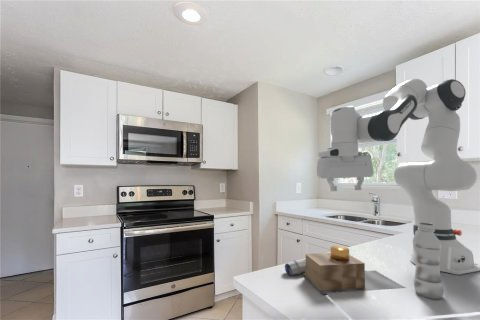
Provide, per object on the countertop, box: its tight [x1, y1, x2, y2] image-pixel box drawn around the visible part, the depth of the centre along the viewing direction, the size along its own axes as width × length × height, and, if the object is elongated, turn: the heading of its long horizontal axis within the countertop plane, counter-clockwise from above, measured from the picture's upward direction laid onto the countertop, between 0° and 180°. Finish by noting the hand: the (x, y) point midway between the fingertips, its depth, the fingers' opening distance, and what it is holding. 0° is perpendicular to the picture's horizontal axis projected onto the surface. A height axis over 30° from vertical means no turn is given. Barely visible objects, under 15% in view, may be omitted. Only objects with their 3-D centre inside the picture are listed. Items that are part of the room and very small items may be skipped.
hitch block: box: [303, 252, 406, 296], centre depth 77 cm, size 26×13×8 cm, turn 99°
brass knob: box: [330, 245, 350, 261], centre depth 77 cm, size 5×5×10 cm
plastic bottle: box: [411, 223, 444, 301], centre depth 69 cm, size 6×7×20 cm
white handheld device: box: [284, 258, 306, 277], centre depth 86 cm, size 5×7×25 cm
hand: (346, 190), depth 88 cm, fingers open, 8 cm apart
